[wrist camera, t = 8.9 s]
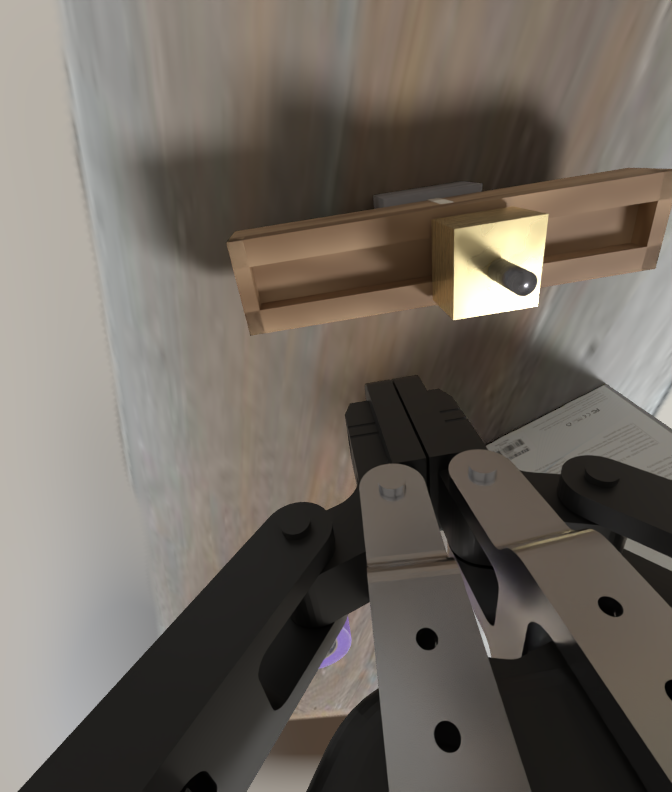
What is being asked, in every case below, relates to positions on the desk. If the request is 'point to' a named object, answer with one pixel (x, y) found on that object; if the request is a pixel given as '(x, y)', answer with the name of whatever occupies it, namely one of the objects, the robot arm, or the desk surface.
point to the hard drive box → (594, 442)
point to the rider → (488, 261)
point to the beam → (412, 245)
